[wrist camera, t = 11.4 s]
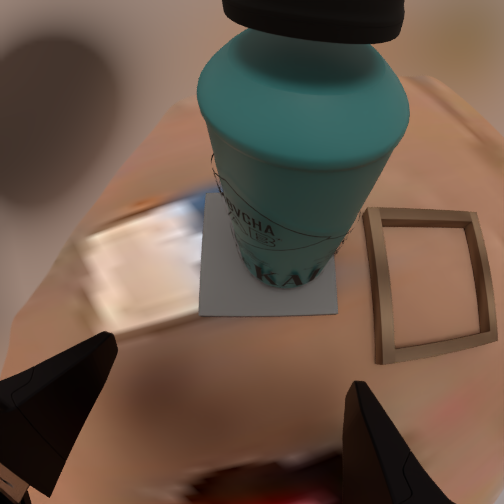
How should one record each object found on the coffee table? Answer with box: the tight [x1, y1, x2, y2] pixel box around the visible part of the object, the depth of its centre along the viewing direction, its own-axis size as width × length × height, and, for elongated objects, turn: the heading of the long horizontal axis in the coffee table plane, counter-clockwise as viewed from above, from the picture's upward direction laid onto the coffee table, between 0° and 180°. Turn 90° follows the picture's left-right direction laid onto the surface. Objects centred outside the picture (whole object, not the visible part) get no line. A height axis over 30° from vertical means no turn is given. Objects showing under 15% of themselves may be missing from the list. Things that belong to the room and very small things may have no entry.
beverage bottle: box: [197, 0, 410, 290], centre depth 12 cm, size 6×7×20 cm
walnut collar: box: [362, 207, 498, 365], centre depth 20 cm, size 12×12×2 cm
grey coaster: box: [199, 192, 338, 317], centre depth 22 cm, size 10×10×1 cm
